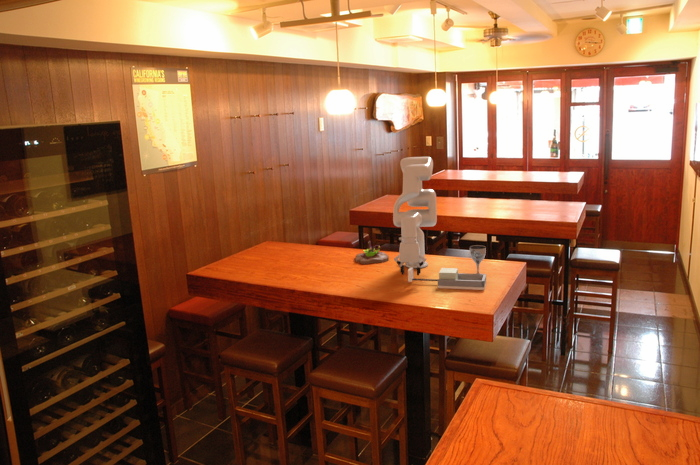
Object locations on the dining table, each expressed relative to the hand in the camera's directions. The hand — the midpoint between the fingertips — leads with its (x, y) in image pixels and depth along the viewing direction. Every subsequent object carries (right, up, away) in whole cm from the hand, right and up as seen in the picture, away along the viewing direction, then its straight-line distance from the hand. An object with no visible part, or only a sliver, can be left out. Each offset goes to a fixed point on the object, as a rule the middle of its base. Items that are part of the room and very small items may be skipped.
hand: (410, 273), depth 285 cm
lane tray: (+25, -5, -7) cm, 26 cm away
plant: (-18, +4, +50) cm, 54 cm away
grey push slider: (+11, -4, -3) cm, 12 cm away
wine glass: (+35, -1, +7) cm, 36 cm away
